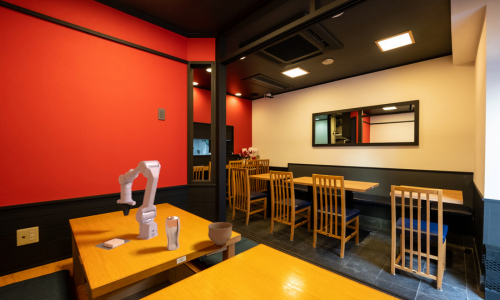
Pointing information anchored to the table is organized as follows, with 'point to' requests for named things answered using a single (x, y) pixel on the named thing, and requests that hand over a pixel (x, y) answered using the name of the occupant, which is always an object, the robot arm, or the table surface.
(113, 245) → the block
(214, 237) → the bowl
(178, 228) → the beer glass
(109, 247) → the mat
